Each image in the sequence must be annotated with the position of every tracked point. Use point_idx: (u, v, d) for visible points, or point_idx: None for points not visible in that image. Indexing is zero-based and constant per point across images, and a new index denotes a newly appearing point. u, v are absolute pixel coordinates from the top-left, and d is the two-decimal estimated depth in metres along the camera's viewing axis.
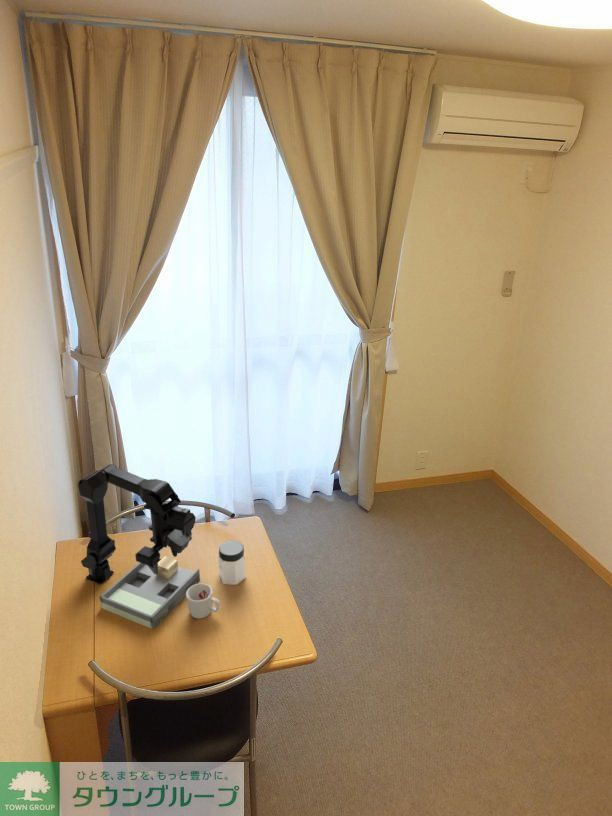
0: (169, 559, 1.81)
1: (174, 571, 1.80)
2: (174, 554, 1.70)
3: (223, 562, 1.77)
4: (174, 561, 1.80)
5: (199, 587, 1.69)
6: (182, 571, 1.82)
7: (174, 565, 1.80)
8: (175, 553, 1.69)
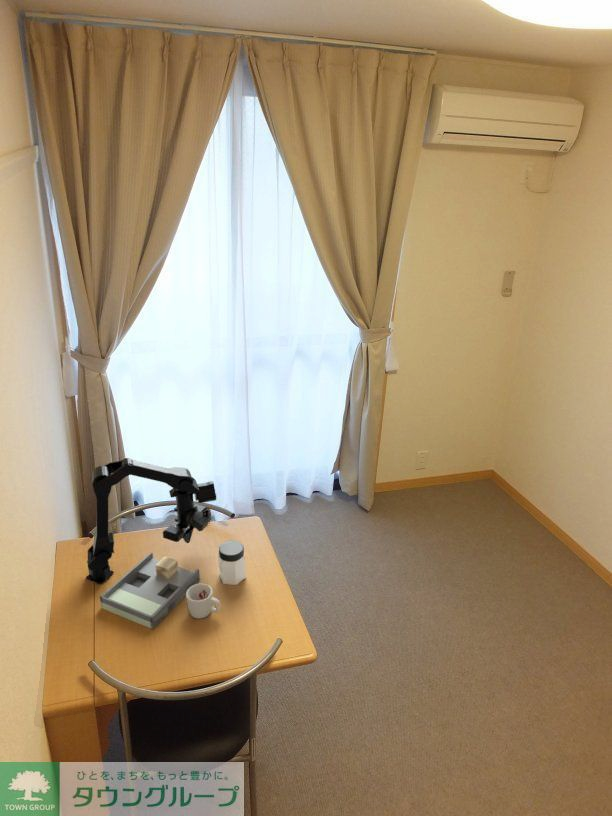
0: (169, 559, 1.81)
1: (174, 571, 1.80)
2: None
3: (223, 562, 1.77)
4: (174, 561, 1.80)
5: (199, 587, 1.69)
6: (182, 571, 1.82)
7: (174, 565, 1.80)
8: None
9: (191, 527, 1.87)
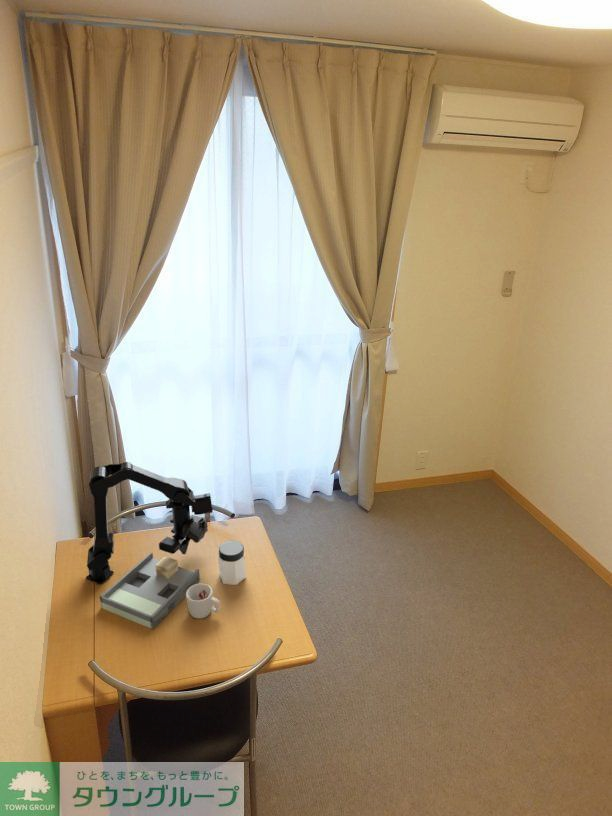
0: (169, 559, 1.81)
1: (174, 571, 1.80)
2: None
3: (223, 562, 1.77)
4: (174, 561, 1.80)
5: (199, 587, 1.69)
6: (182, 571, 1.82)
7: (174, 565, 1.80)
8: None
9: (187, 538, 1.87)
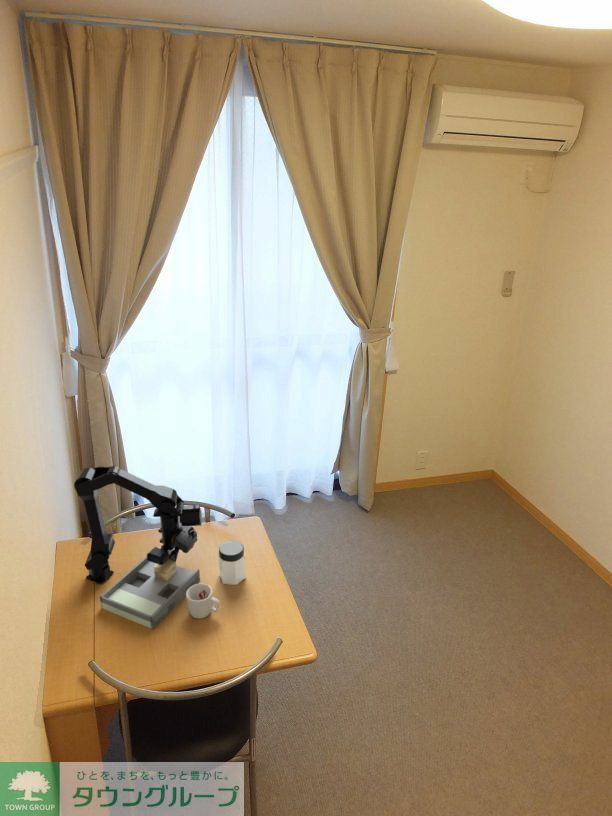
0: (167, 561, 1.80)
1: (172, 572, 1.80)
2: None
3: (223, 562, 1.77)
4: (172, 563, 1.80)
5: (199, 587, 1.69)
6: (182, 571, 1.82)
7: (172, 567, 1.79)
8: (174, 560, 1.83)
9: (177, 548, 1.81)
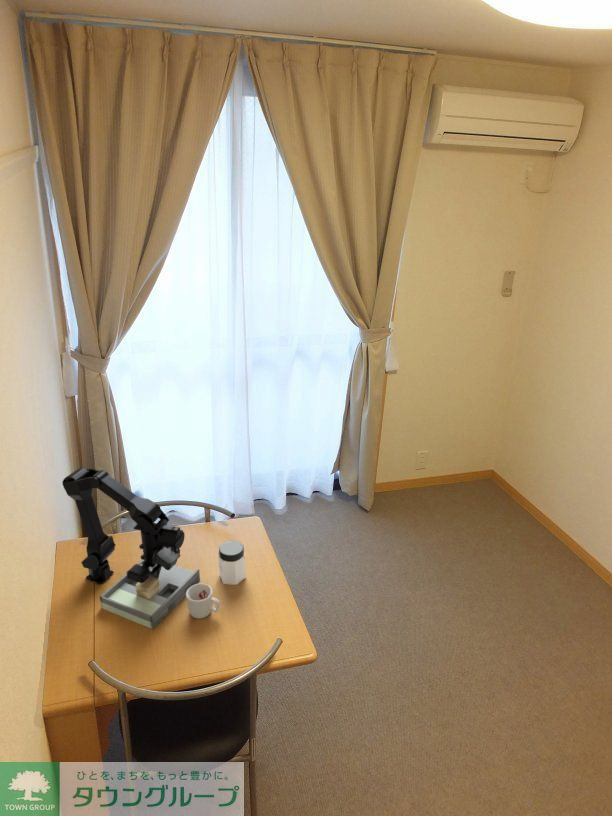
0: (150, 578, 1.73)
1: (155, 590, 1.72)
2: None
3: (223, 562, 1.77)
4: (155, 580, 1.72)
5: (199, 587, 1.69)
6: (182, 571, 1.82)
7: (155, 584, 1.71)
8: None
9: (159, 565, 1.73)
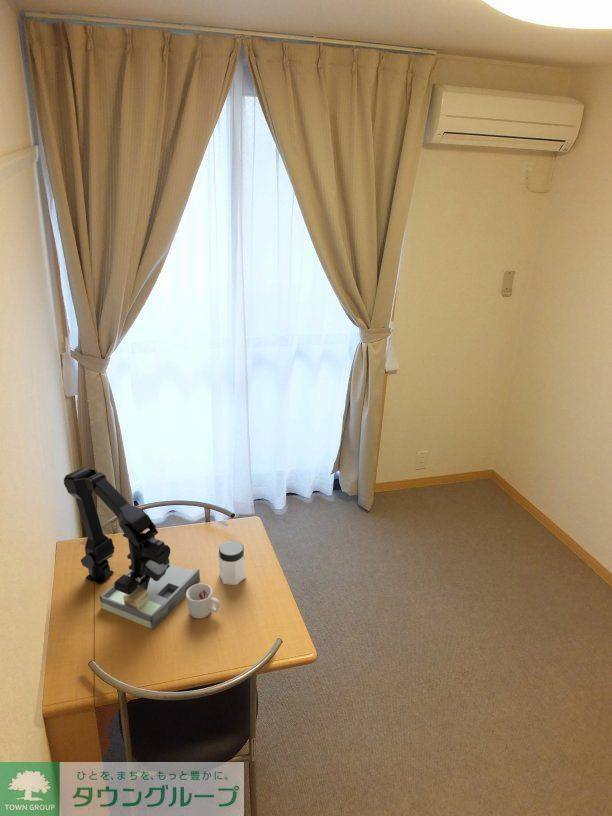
0: (138, 589, 1.68)
1: (144, 602, 1.67)
2: None
3: (223, 562, 1.77)
4: (144, 591, 1.67)
5: (199, 587, 1.69)
6: (182, 571, 1.82)
7: (144, 596, 1.67)
8: None
9: (147, 575, 1.69)
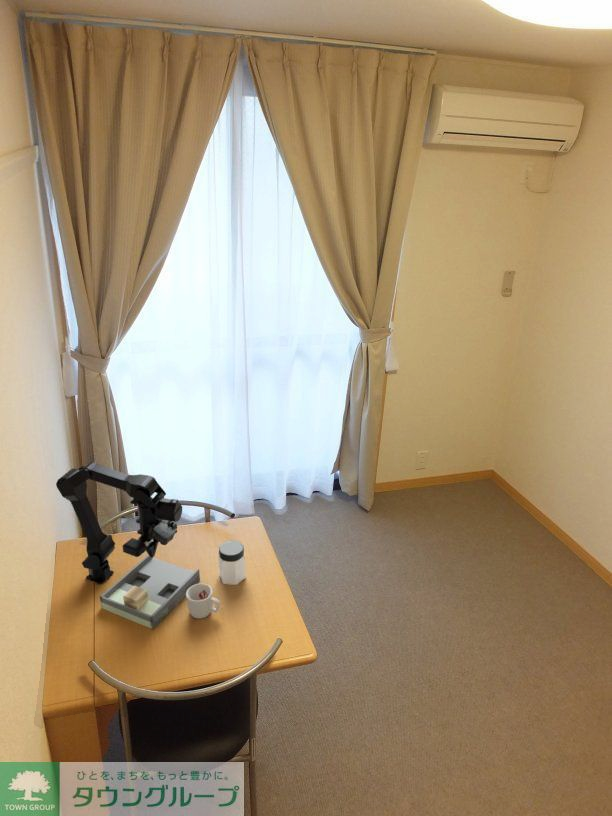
0: (138, 589, 1.68)
1: (143, 602, 1.67)
2: None
3: (223, 562, 1.77)
4: (144, 591, 1.67)
5: (199, 587, 1.69)
6: (182, 571, 1.82)
7: (143, 596, 1.67)
8: None
9: (155, 540, 1.72)
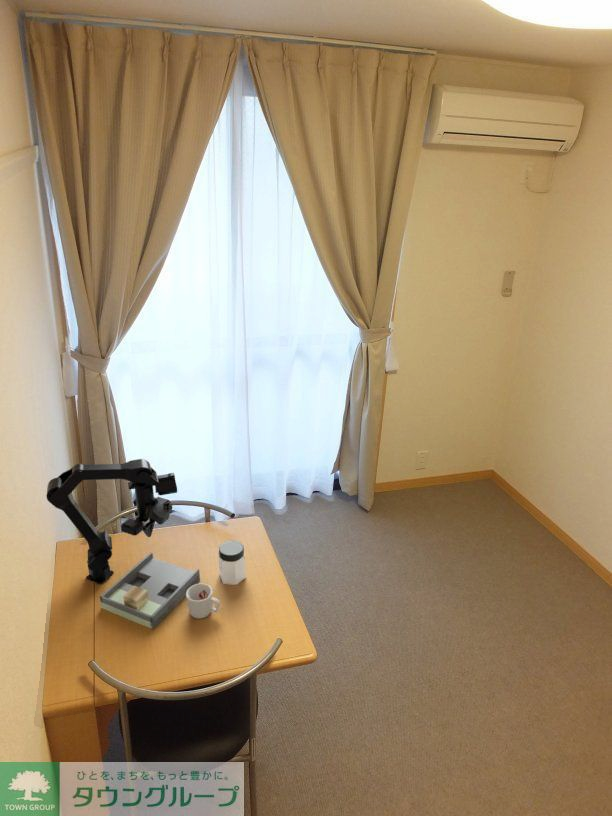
0: (138, 589, 1.68)
1: (143, 602, 1.67)
2: None
3: (223, 562, 1.77)
4: (144, 591, 1.67)
5: (199, 587, 1.69)
6: (182, 571, 1.82)
7: (143, 596, 1.67)
8: None
9: (152, 520, 1.81)
